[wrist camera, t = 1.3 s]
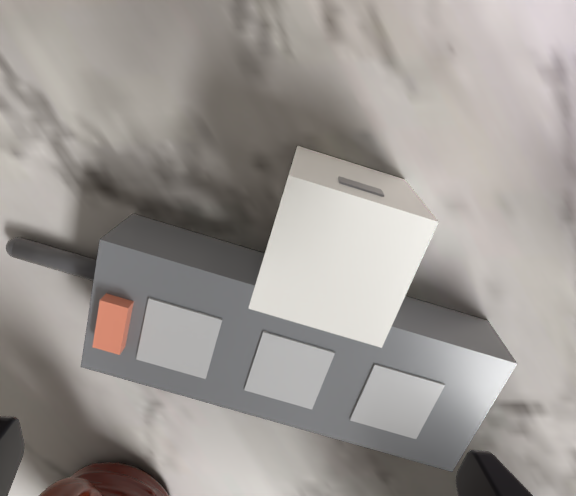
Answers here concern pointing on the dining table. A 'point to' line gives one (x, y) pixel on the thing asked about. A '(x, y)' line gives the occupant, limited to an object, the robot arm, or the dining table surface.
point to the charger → (342, 248)
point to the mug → (107, 482)
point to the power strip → (278, 346)
